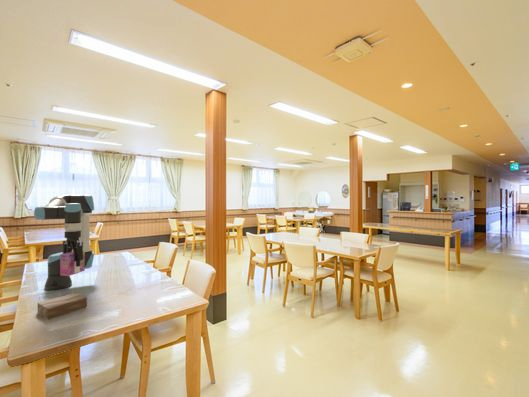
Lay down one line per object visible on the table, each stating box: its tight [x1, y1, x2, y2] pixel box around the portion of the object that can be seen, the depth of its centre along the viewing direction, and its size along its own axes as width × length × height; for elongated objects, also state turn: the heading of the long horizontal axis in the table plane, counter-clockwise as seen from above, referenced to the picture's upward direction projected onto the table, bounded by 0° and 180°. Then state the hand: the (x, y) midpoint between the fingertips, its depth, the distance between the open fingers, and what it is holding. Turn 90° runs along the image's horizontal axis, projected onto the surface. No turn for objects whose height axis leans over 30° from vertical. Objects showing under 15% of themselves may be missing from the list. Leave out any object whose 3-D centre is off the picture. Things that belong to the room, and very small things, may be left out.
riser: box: [37, 292, 88, 320], centre depth 146 cm, size 14×18×6 cm
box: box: [60, 251, 86, 277], centre depth 149 cm, size 10×6×12 cm, turn 170°
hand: (72, 271), depth 149 cm, fingers closed on box, 6 cm apart
